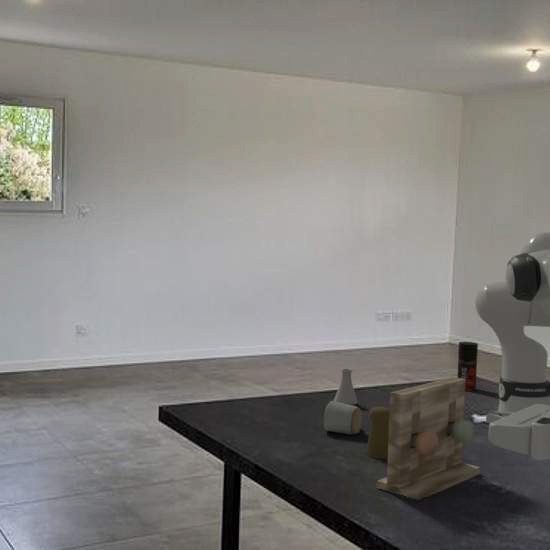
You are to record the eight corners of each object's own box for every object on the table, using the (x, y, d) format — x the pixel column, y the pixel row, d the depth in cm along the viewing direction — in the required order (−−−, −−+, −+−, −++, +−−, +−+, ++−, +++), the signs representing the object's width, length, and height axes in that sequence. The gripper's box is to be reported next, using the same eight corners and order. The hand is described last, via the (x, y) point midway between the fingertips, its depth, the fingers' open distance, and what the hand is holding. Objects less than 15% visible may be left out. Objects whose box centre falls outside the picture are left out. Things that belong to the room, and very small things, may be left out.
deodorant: (475, 387, 262) (477, 342, 261) (475, 391, 256) (477, 345, 255) (457, 386, 263) (459, 341, 262) (456, 390, 257) (458, 344, 256)
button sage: (472, 440, 170) (473, 419, 170) (461, 444, 167) (462, 423, 166) (443, 433, 175) (444, 413, 175) (432, 437, 172) (433, 416, 171)
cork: (364, 450, 188) (366, 404, 187) (390, 451, 188) (392, 405, 187) (366, 458, 182) (368, 410, 181) (393, 458, 182) (395, 411, 181)
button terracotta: (438, 453, 160) (439, 431, 159) (425, 458, 156) (426, 435, 156) (407, 446, 165) (408, 424, 164) (394, 450, 161) (395, 428, 161)
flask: (334, 399, 240) (335, 366, 239) (358, 401, 239) (359, 368, 238) (332, 405, 232) (333, 371, 232) (357, 406, 231) (358, 372, 231)
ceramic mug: (352, 438, 198) (354, 407, 197) (322, 433, 201) (323, 403, 201) (367, 429, 207) (368, 400, 207) (338, 425, 211) (339, 396, 210)
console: (479, 474, 172) (484, 382, 171) (418, 500, 155) (422, 399, 153) (439, 463, 179) (443, 375, 178) (376, 487, 162) (379, 390, 160)
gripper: (585, 404, 149) (515, 390, 159) (536, 427, 134) (463, 410, 144) (582, 437, 150) (514, 421, 159) (534, 463, 135) (461, 444, 144)
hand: (489, 416), depth 151 cm, fingers closed
